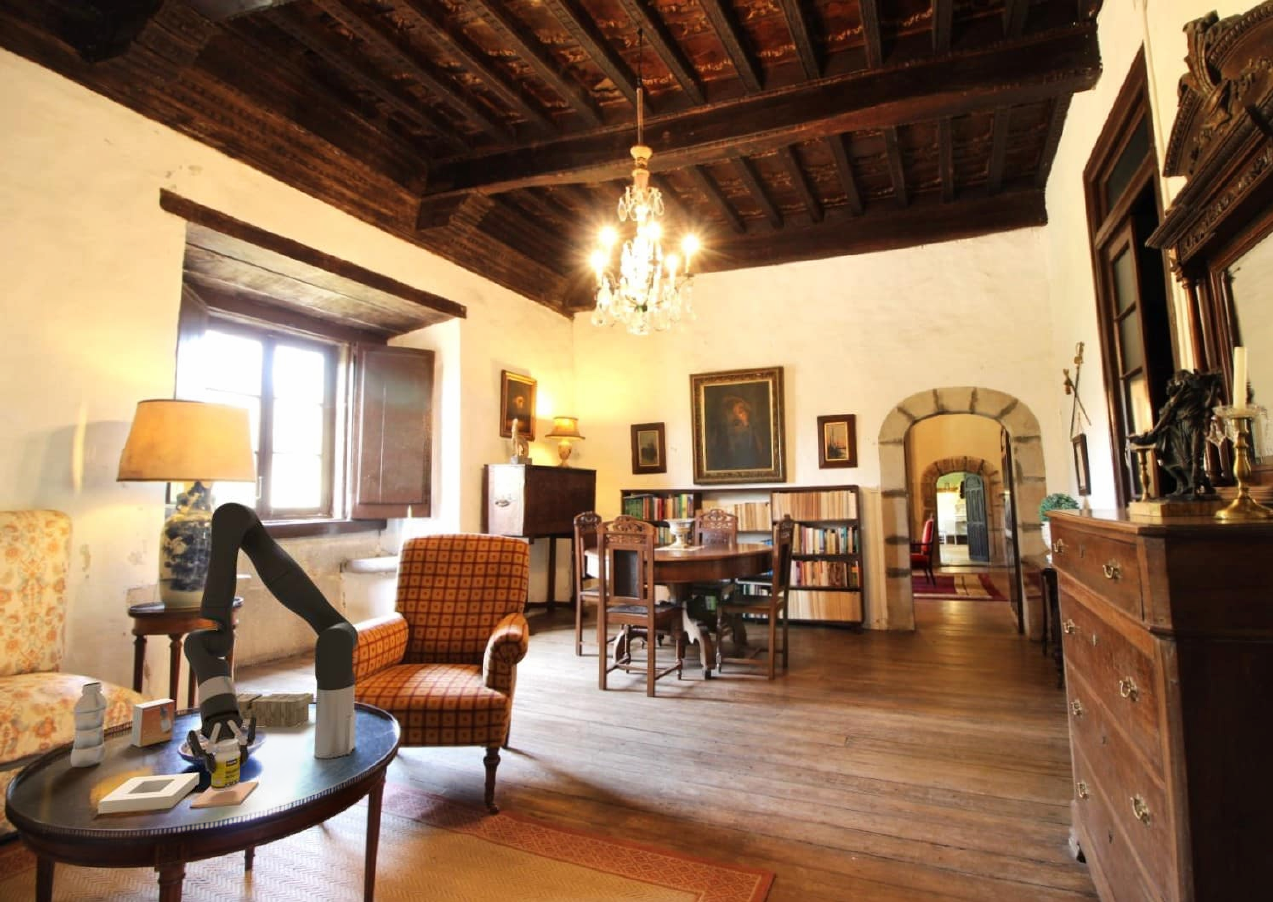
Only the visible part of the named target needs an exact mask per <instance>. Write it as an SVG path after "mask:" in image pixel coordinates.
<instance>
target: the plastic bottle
mask: <svg viewBox="0 0 1273 902" xmlns="http://www.w3.org/2000/svg"><path fill="white" fill-rule="evenodd" d="M102 687H103V682H101V681H100V682H99V681H98V682H96V681H95V682H90V683H85V684H83V685H82V688H81V689H82V690H81V694H82V695H81V697H80V698H78V700H77V701H76V703H75V704H74V706H73V718H74V730H75V731H74V740H73V748H72V750H71V752H70V753H71V754H70V758H69V760H70V764H71V765H72V766H73V767H74V768H85V767H90V766H94V765H96V764H99V763H100V762H102V760H103V759H104V758H105V754H106V746H105V741H104V724H105V717H106V713H107V709H108V708H107V707H108V700H107V698H106V697H105V696H104V695H103V694H102V693H101V691H103V688H102Z"/></svg>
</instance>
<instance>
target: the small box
mask: <svg viewBox="0 0 1273 902" xmlns="http://www.w3.org/2000/svg"><path fill="white" fill-rule="evenodd" d="M175 703H176V702H175V700H173V699H170V698H167V697H164V698H161V699H157V700H152V701H148V702H143V703H138V704H133V710H132V711H133V712H132V723H131V725H132V726H131V736H130V737H131V738H130V739H131V740H130V744H131V745H133V746H136V747H138V748H142V747H145V746H150V745H153V744H157V743H161V742H166V741H170V740H173V737H174V736H173V735H174V722H175V720H174V719H175ZM169 739H170V740H169Z"/></svg>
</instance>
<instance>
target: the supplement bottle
mask: <svg viewBox="0 0 1273 902" xmlns="http://www.w3.org/2000/svg"><path fill="white" fill-rule="evenodd" d="M216 751H217V752H215V753H214V760H215V767H216V769H215V772H214V773H212V774H211V777H210V779H211V781H210V786H211V789H212V790H213V791H225V790H229V789H232V788H234V787H236V786H237V785H238V784H239V783H240V775H241V773H240V771H241V765H240V759H241V752H240V750H239V749H238V740H237V739H228V740H224V741H221V742H219V743H217V744H216Z"/></svg>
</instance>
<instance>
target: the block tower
mask: <svg viewBox="0 0 1273 902" xmlns="http://www.w3.org/2000/svg"><path fill="white" fill-rule="evenodd" d="M236 696H237V702H238V707H239V713H240V716H241V717H242V718H243V720H246V719H251V718H252V717H256V726H266V727H265V728H295V726H296V727H298V726H299V725H300V724H302V723H303V722H305V721H306V720H309V718H310V713H309V712H310V705H311V703H313V702H315V701H314V699H315V698H314V697H315V694H314V692H313V693H312V692H311V693H309V692H305V693H271V694H270V695H269V694H268V695H264V696H263V693H236ZM301 722H302V723H301ZM299 723H300V724H299ZM298 724H299V725H298ZM242 726H244V725H242Z"/></svg>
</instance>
